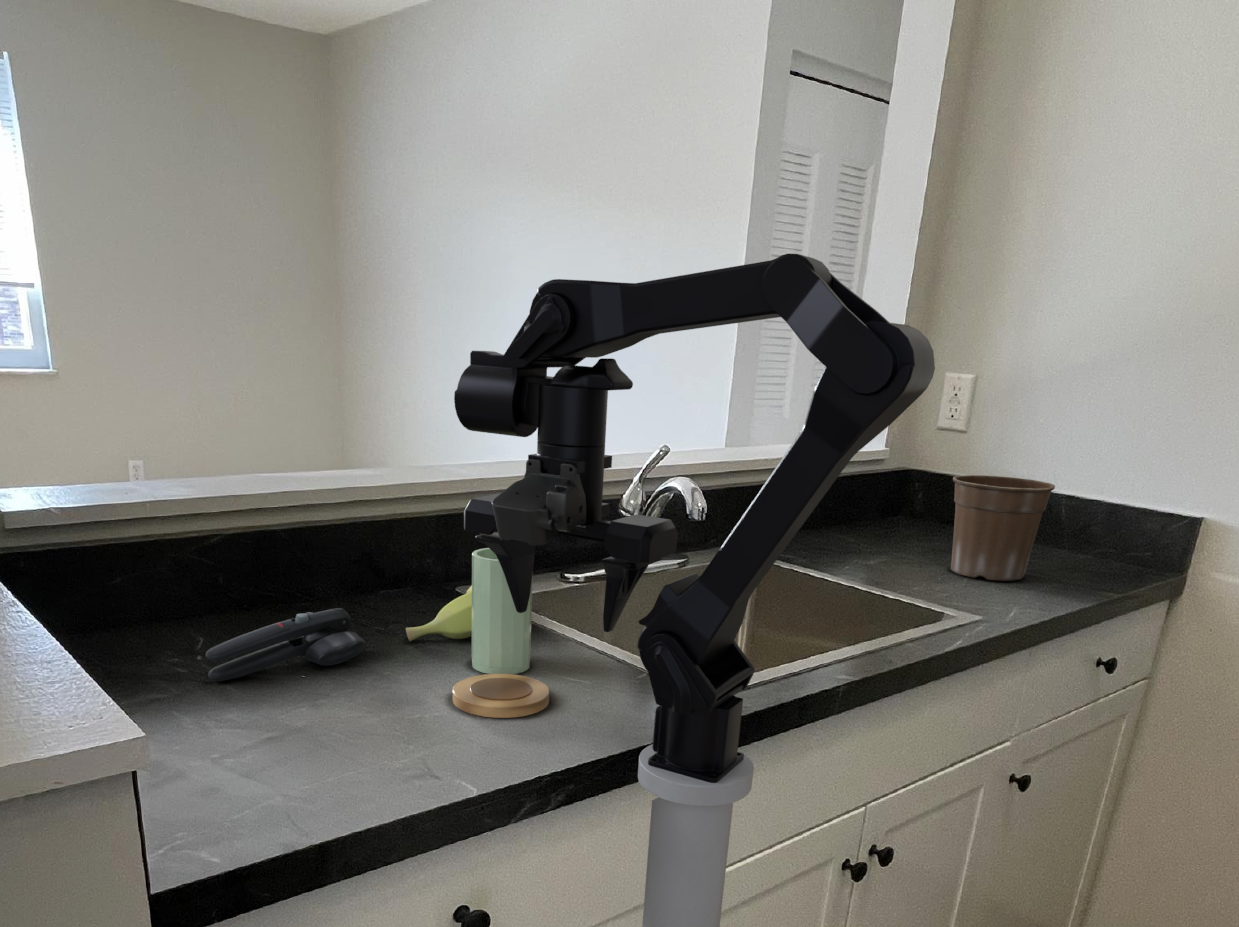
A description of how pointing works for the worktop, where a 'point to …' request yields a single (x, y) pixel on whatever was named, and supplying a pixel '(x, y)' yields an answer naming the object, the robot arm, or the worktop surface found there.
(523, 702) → the coaster
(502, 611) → the tumbler
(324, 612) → the can opener
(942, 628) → the worktop surface
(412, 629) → the banana
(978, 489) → the plant pot
